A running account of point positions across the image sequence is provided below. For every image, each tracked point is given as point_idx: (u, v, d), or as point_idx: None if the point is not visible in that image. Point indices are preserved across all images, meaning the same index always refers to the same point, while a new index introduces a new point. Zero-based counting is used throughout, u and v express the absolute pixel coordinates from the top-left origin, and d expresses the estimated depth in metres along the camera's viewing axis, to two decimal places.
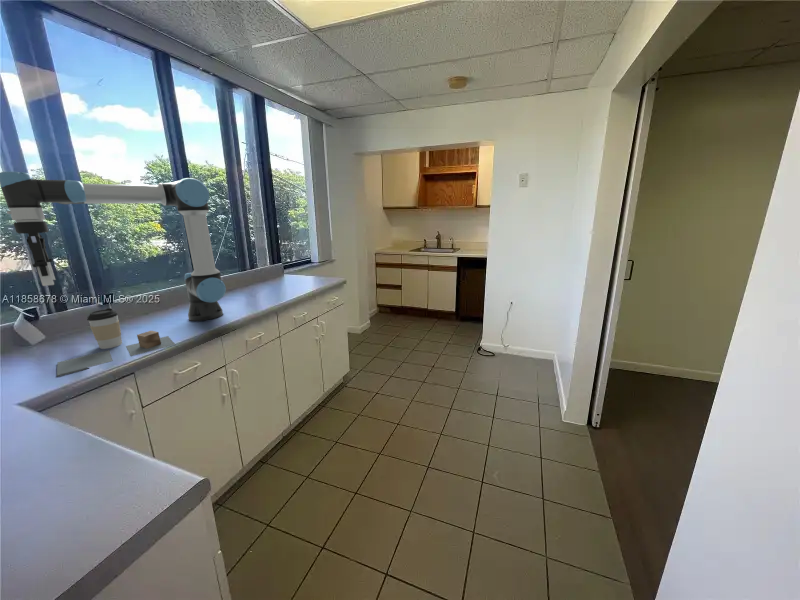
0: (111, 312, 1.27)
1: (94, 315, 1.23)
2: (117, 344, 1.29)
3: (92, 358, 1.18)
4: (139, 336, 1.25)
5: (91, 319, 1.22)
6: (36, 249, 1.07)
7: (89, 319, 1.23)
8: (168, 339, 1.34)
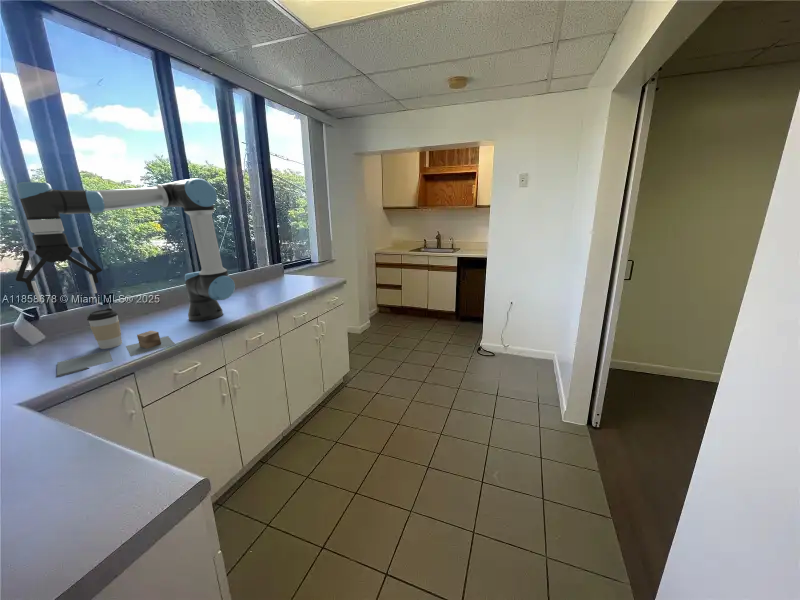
0: (111, 312, 1.27)
1: (94, 315, 1.23)
2: (117, 344, 1.29)
3: (92, 358, 1.18)
4: (139, 336, 1.25)
5: (91, 319, 1.22)
6: (21, 264, 1.02)
7: (89, 319, 1.23)
8: (168, 339, 1.34)
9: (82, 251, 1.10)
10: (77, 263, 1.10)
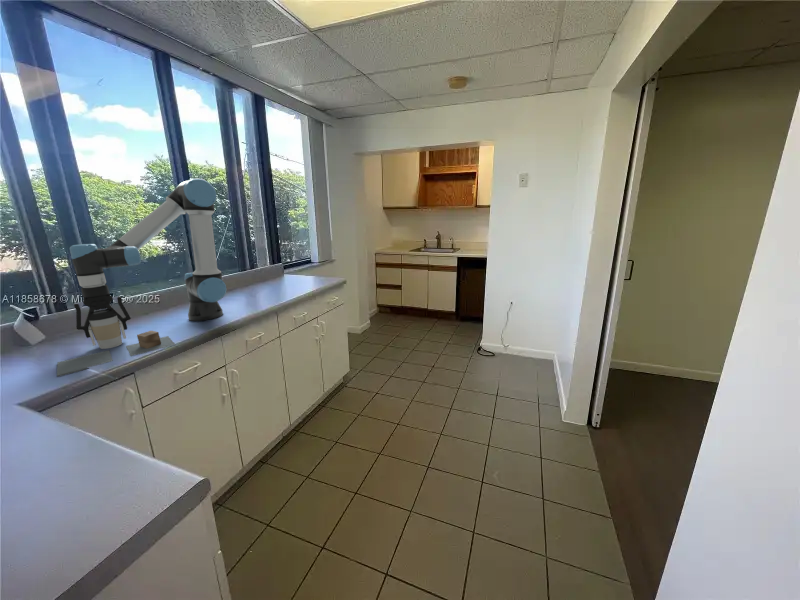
0: (111, 312, 1.27)
1: (94, 315, 1.23)
2: (117, 344, 1.29)
3: (92, 358, 1.18)
4: (139, 336, 1.25)
5: (91, 319, 1.22)
6: (76, 315, 1.21)
7: (89, 319, 1.23)
8: (168, 339, 1.34)
9: (120, 301, 1.29)
10: (113, 311, 1.28)
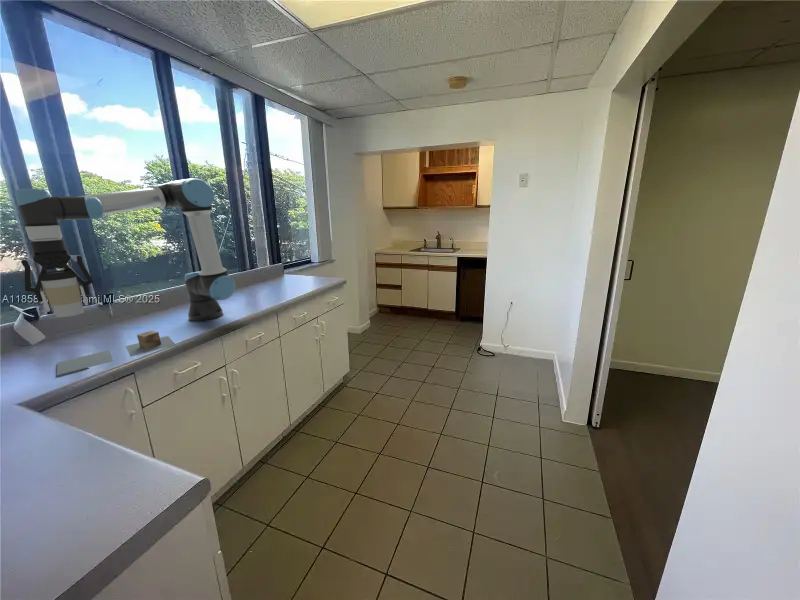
0: (68, 272, 1.07)
1: (47, 275, 1.04)
2: (76, 311, 1.10)
3: (92, 358, 1.18)
4: (139, 336, 1.25)
5: (43, 279, 1.03)
6: None
7: (41, 279, 1.03)
8: (168, 339, 1.34)
9: (80, 260, 1.10)
10: None
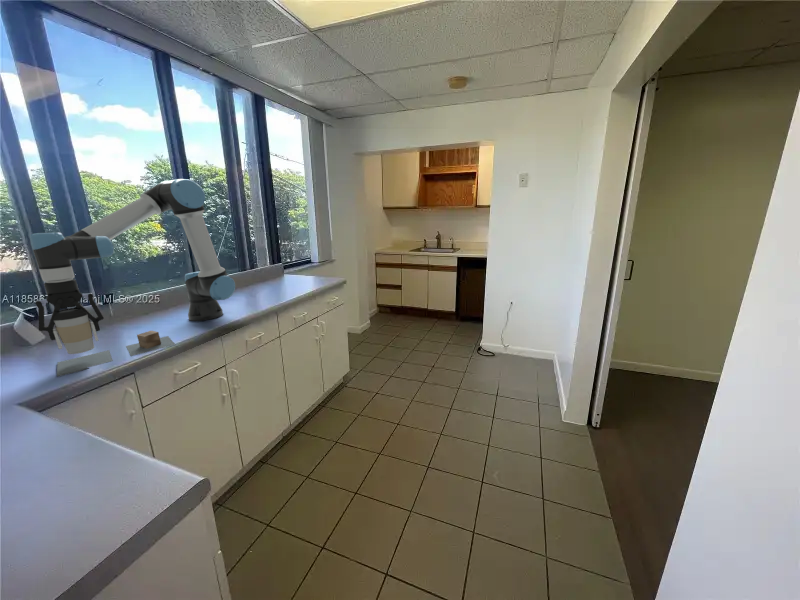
0: (80, 311, 1.11)
1: (60, 314, 1.07)
2: (87, 347, 1.13)
3: (92, 358, 1.18)
4: (139, 336, 1.25)
5: (56, 319, 1.07)
6: None
7: (54, 319, 1.07)
8: (168, 339, 1.34)
9: (91, 298, 1.13)
10: (83, 310, 1.12)
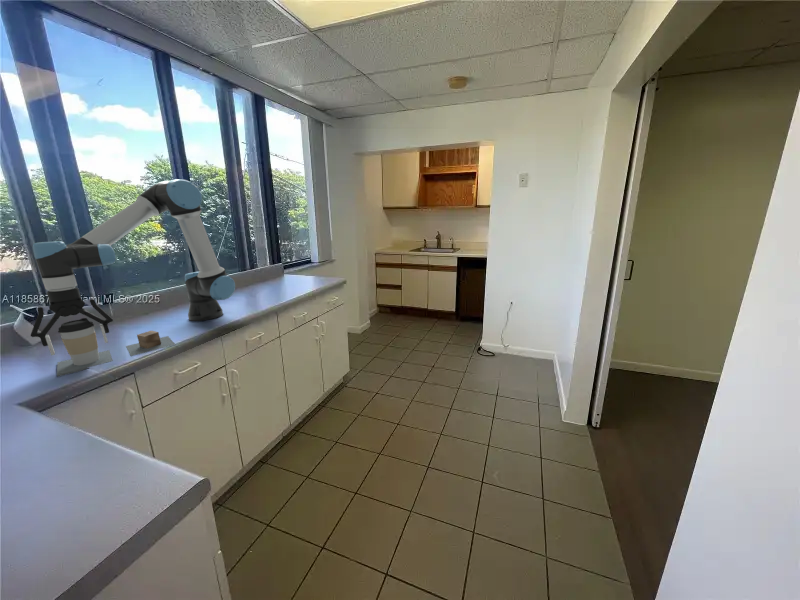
0: (86, 323, 1.12)
1: (66, 326, 1.09)
2: (93, 358, 1.15)
3: None
4: (139, 336, 1.25)
5: (62, 331, 1.08)
6: None
7: (60, 331, 1.09)
8: (168, 339, 1.34)
9: (94, 304, 1.14)
10: (89, 315, 1.13)
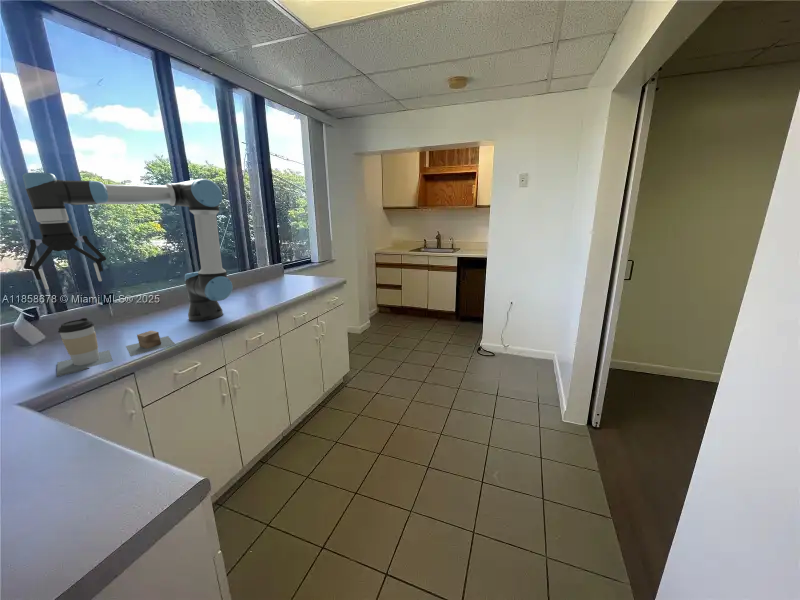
0: (86, 323, 1.12)
1: (66, 326, 1.09)
2: (93, 358, 1.15)
3: None
4: (139, 336, 1.25)
5: (62, 331, 1.08)
6: None
7: (60, 331, 1.09)
8: (168, 339, 1.34)
9: (87, 240, 1.14)
10: (82, 252, 1.14)
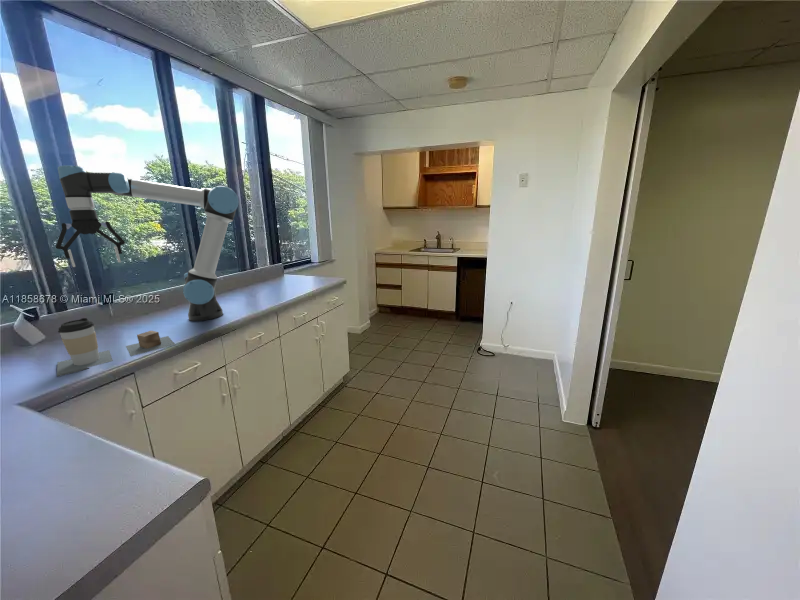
0: (86, 323, 1.12)
1: (66, 326, 1.09)
2: (93, 358, 1.15)
3: None
4: (139, 336, 1.25)
5: (62, 331, 1.08)
6: (60, 234, 1.22)
7: (60, 331, 1.09)
8: (168, 339, 1.34)
9: (109, 226, 1.30)
10: (105, 236, 1.30)
